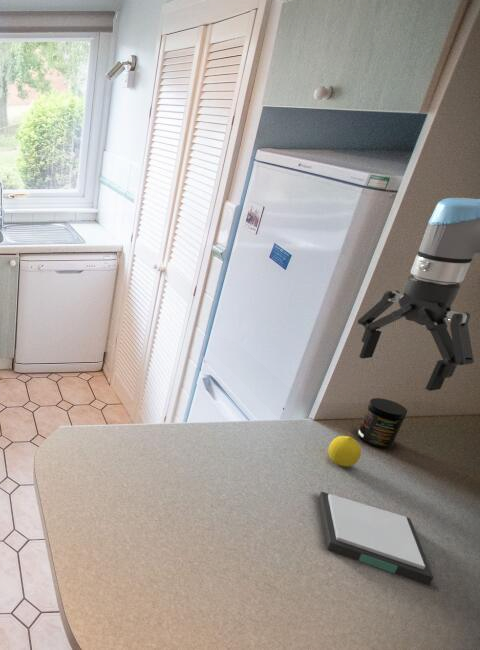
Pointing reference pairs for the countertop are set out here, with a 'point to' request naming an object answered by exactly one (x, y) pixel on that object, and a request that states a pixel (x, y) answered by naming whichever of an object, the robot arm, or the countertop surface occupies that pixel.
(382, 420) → the supplement container
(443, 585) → the countertop surface
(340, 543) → the kitchen scale
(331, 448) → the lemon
